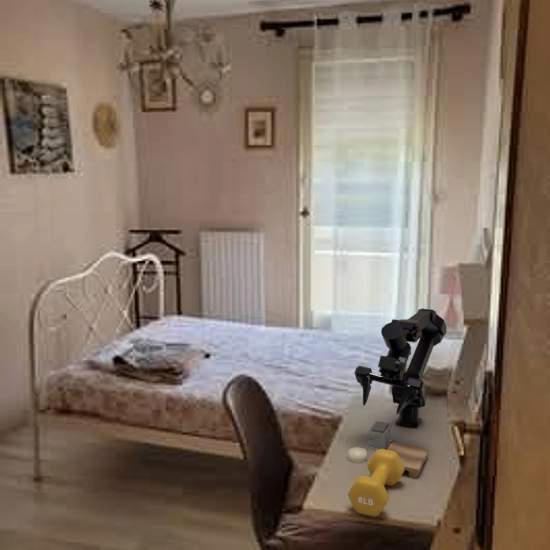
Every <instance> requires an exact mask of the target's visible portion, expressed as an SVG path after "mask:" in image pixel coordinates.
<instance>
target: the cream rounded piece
mask: <svg viewBox="0 0 550 550" xmlns="http://www.w3.org/2000/svg"><path fill="white" fill-rule="evenodd" d="M367 456H368V453H367V449H365V448H363V447H356V446H355V447H351V448H349V449H348V459H347V460H349V462H351V463H354V462H355V464H360V463H359V462H363V461H365V460H366V459H367ZM366 461H367V460H366ZM366 461H365V462H366ZM356 462H357V463H356ZM363 463H364V462H363Z"/></svg>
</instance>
